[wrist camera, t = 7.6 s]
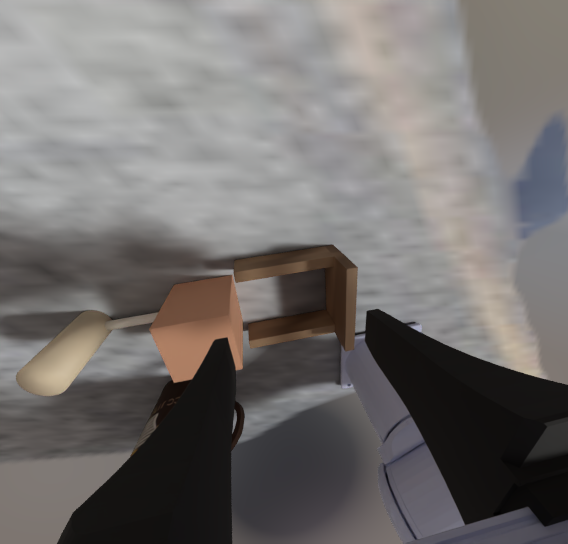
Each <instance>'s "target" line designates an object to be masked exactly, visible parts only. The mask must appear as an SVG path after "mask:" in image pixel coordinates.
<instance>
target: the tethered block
mask: <svg viewBox="0 0 568 544" xmlns="http://www.w3.org/2000/svg"><path fill="white" fill-rule="evenodd" d="M147 323H152V325H151V327H150V329H149V330H150V332H151V334H152V336H153V339H154V341H155V343H156V345H157V347H158V349H159V352H160V354H161V356H162V358H163V360H164V362H165V364H166V367H167V369H168V371H169V373H170V375H171V377H172V380H173V382H174V383H176V382H181V381H186V380H191V379H192V378H193V377H194V375H195V374H196V372H197V370H198V368H199V367H200V365H201V363H202V362H203V360H204V358H205V356H206V354H207V352H208V351H209V349H210V347H211V345H212V343H213V341H214V340H215V339H220V338H225V337H227V338H228V341H229V345H230V349H231V352H232V356H233V359H234V363H235V367H236V370H239V369H243V320H242V315H241V311H240V307H239V302H238V298H237V294H236V289H235V285H234V281H233V276H232V275H229V276H223V277H217V278H211V279H205V280H199V281H193V282H187V283H181V284H175V285H174V286H173V288H172V289H171V291H170V293H169V295H168V297H167V298H166V300H165V302H164V304H163V305H162V307H161V309H160V311H159V312H157V313H151V314H145V315H140V316H134V317H128V318H122V319H117V320H111V318H110V317H109V316H108V315H106V314H104V313H102V312H99V311H94V310H90V311H85V312H83V313H81V314H80V315H79V316H78V317H76V318H75V319H74V320H73V321H72V322H71V323H70V324H69V325H68V326H67V327H66V328H65V329H64V330H63V331H61V332H60V333H59V334H58V335H57V336H56V337H55V338H54V339H53V340H52V341H51V342H50V343H49V344H48V345H47V346H45V347H44V348H43V349H42V350H41V351H40V352H39V353H38V354H37V355H36V356H35V357H34V358H33V359H32V360H31V361H29V362H28V363H27V364H26V365H25V366H24V367H23V368H22V369H21V370H20V371H19V372H18V373H17V375H16V380H17V383H18V384H19V386H20V387H21V388H23V389H24V390H26V391H27V392H29V393H32V394H35V395H40V396H54V395H58V394H61V393H63V392H64V391H65V390H66V389H67V388H68V387H69V386H70V384H71V383H72V382H73V380H74V379H75V378H76V376H77V375H78V374H79V373H80V371H81V370H82V369H83V367H84V366H85V365H86V364H87V362H88V361H89V360H90V358H91V357H92V356H93V355H94V353H95V352H96V351H97V349H98V348H99V347H100V345H101V344H102V343H103V342H104V340H105V339H106V338H107V336H108V335H109V334H110V333H111V331H112V330H114V329H119V328H125V327H130V326H136V325H142V324H147Z"/></svg>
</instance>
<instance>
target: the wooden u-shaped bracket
mask: <svg viewBox="0 0 568 544" xmlns="http://www.w3.org/2000/svg"><path fill="white" fill-rule="evenodd" d="M322 268H325V285H326V310H320V311H315V312H309V313H304V314H299V315H293V316H288V317H282V318H277V319H271V320H266V321H260V322H255V323H249V324H248V328H249V344H250V348H256V347H261V346H267V345H272V344H277V343H282V342H287V341H292V340H297V339H303V338H308V337H313V336H318V335H323V334H328V333H333V332H335V333H336V335H337V337H338V339H339V341H340V343H341V345H342V346H343V348H344V350H345V351H350V350H354V342H355V319H356V295H357V271H358V267H357V266H356V265H354V264H353V263H352V262H351V261H350V260H349V259H348V258H347V257H346V256H345V255H344V254H343V253H341V252H340V251H339V250H338V249H337V248H336V247H335V246H334V245H328V246H322V247H316V248H309V249H303V250H296V251H290V252H284V253H277V254H271V255H264V256H258V257H251V258H245V259H239V260H235V262H234V277H235V281H236V283H238V282H244V281H250V280H256V279H262V278H268V277H274V276H280V275H286V274H292V273H298V272H304V271H310V270H316V269H322Z"/></svg>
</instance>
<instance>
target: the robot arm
mask: <svg viewBox="0 0 568 544" xmlns="http://www.w3.org/2000/svg"><path fill="white" fill-rule="evenodd" d="M421 330H422V326H421V325H420V324H419V323H415V324H410V325H406V324H404V323H402V322H401V321H399V320H397V319H395V318H394V317H392V316H390V315H388V314H387V313H385V312H383V311H381V310H379V309H375V310H369V311H367V315H366V330H365V333H364V334H359V335H355V342H354V350H350V351H345V350H344V348H343V346H342V345H341V387H342V388H350V387H354V389H355V391H356V393H357V395H358V397H359V399H360V401H361V403H362V405H363V407H364V409H365V411H366V413H367V415H368V417H369V419H370V421H371V423H372V425H373V427H374V429H375V431H376V433H377V435H378V437H379V440H380V442H381V443H382V446H380V447H379V448H378V449H377V450H378V452H379V454H380V456H381V458H382V460H383V463H381V464H380V465H379V467H378V485H379V490H380V494H381V497H382V500H383V503H384V506H385V508H386V511H387V513H388V515H389V518H390V520H391V522H392V524H393V526H394V528H395V530H396V532H397V534H398V536H399V537H400V539H401V541H402V542H403V544H568V385H565V384H562V383H557V382H554V381H550V380H546V379H542V378H538V377H534V376H531V375H528V374H524V373H521V372H517V371H514V370H511V369H508V368H505V367H502V366H498V365H496V364H493V363H490V362H487V361H484V360H482V359H479V358H476V357H474V356H471V355H468V354H466V353H464V352H461V351H459V350H456V349H454V348H452V347H449V346H447V345H445V344H443V343H441V342H439V341H437V340H435V339H432V338H430V337H428V336H426V335H425V334H423V333H422V332H421ZM235 395H236V367H235V363H234V359H233V356H232V352H231V349H230V345H229V341H228V338H227V337H225V338H220V339H215V340H214V341H213V343H212V345H211V347H210V349H209V351H208V352H207V354H206V356H205V358H204V360H203V362H202V363H201V365H200V367H199V368H198V370H197V372H196V374H195V375H194V377H193V378H192V380H191V382H190V383H189V385H188V386H187V388H186V389H185V391H184V392H183V394H182V395H181V397H180V398H179V399H178V401H177V402H176V404H175V405H174V406H173V408H172V409H171V410H170V412H169V413H168V414H167V416H166V417H165V418H164V419H163V421H162V422H161V423H160V424H159V425H158V427H157V428H156V429H155V430H154V431H153V433H152V434H151V435H150V436H149V437H148V439H147V440H146V441H145V442H144V443H143V444H142V445H141V446H140V447H139V449H138V450H137V451H136V452H135V453H134V454H133V455H132V456H131V457H130V458H129V459H128V460H127V461H126V462H125V463H124V464H123V465H122V467H121V468H119V470H118V471H117V472H116V473H115V474H114V475H112V476H111V478H110V479H109V480H107V481H106V483H104V484H103V485H102V486H101V487H100V488H99V489H98V490H97V491H96V492H95V493H94V494H93V495H91V497H89V498H88V499H87V500H86V501H85V502H84V503H83V504H82V505H81V506H80V507H79V508H78V509H76V510H75V511H74V512H73V514H72V516H71V518H70V520H69V521H68V523H67V525H66V527H65V529H64V530H63V533H62V534H61V537H60V539H59V541H58V543H57V544H232V513H231V442H232V429H233V417H234V406H235Z"/></svg>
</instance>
